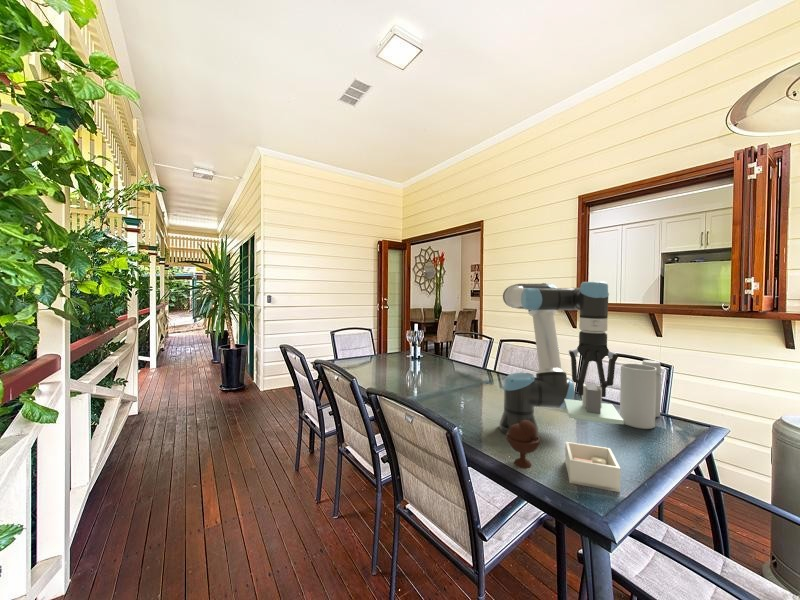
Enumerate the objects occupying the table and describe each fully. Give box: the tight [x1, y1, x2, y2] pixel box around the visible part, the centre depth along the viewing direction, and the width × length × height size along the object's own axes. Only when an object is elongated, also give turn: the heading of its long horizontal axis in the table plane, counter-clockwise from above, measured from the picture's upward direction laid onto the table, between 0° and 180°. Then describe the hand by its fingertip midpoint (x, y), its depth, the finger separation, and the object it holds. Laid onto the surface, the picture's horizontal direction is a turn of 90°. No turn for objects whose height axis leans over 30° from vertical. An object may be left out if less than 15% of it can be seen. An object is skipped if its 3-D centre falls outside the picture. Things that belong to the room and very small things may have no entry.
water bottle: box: [641, 359, 662, 418], centre depth 154 cm, size 9×8×25 cm
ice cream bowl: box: [505, 420, 542, 469], centre depth 111 cm, size 11×11×15 cm
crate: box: [564, 441, 622, 493], centre depth 104 cm, size 13×13×7 cm
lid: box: [564, 382, 625, 425], centre depth 104 cm, size 14×14×9 cm
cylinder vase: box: [619, 363, 657, 430], centre depth 144 cm, size 12×12×25 cm
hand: (591, 405), depth 104 cm, fingers closed on lid, 3 cm apart
